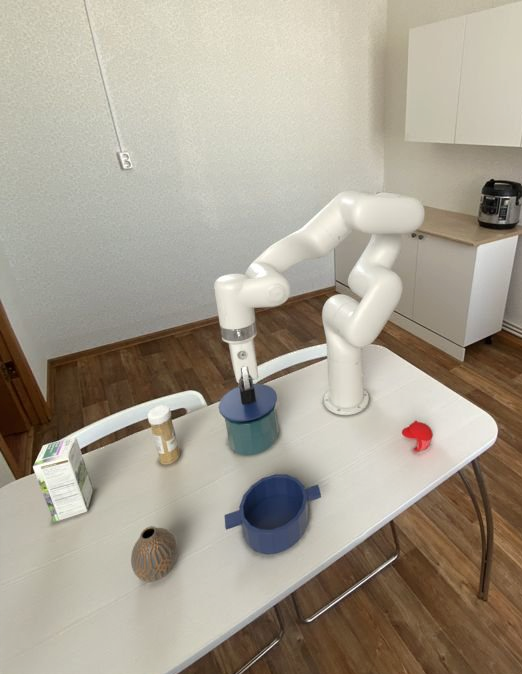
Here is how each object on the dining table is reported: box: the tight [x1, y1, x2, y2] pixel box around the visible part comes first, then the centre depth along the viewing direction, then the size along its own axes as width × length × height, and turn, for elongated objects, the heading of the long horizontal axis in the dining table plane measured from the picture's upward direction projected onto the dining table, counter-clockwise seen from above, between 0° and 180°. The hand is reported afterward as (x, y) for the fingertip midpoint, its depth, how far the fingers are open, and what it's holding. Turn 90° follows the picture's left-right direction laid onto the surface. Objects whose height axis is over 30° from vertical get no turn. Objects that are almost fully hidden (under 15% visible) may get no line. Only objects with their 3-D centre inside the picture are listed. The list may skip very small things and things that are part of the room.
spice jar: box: [147, 404, 181, 466], centre depth 87 cm, size 5×5×14 cm
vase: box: [130, 525, 178, 583], centre depth 65 cm, size 7×7×9 cm
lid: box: [218, 380, 278, 422], centre depth 91 cm, size 13×13×7 cm
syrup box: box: [32, 437, 94, 523], centre depth 76 cm, size 6×6×14 cm
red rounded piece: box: [401, 420, 434, 453], centre depth 91 cm, size 8×6×6 cm
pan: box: [224, 473, 322, 555], centre depth 73 cm, size 12×18×5 cm
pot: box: [224, 403, 280, 456], centre depth 94 cm, size 12×12×9 cm
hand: (248, 397), depth 91 cm, fingers closed on lid, 2 cm apart
